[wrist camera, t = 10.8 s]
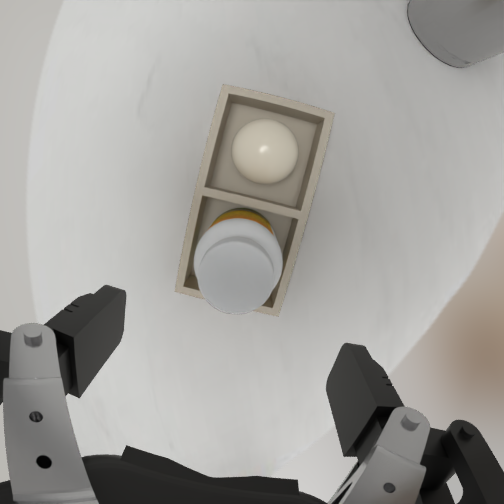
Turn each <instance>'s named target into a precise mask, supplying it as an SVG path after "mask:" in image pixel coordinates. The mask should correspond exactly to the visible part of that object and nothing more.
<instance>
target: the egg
mask: <svg viewBox="0 0 504 504" xmlns="http://www.w3.org/2000/svg"><path fill="white" fill-rule="evenodd" d="M231 157H232V161H233V164H234V166H235V168H236V169H237V171H238V172H239V173H240V174H241V175H242V176H243V177H244V178H246V179H247V180H249V181H251V182H254V183H257V184H273V183H276V182H279V181H281V180H283V179H284V178H286V177H287V176H288V175H289V174H290V173H291V172H292V171H293V169H294V168H295V166H296V164H297V161H298V157H299V146H298V142H297V139H296V137H295V135H294V134H293V132H292V131H291V130H290V129H289V128H288V127H287V126H286V125H285V124H283V123H281V122H279V121H277V120H274V119H269V118H260V119H255V120H252V121H250V122H248V123H246V124H245V125H243V126H242V127H241V128H240V129H239V130H238V131H237V133H236V134H235V136H234V138H233V141H232V145H231Z"/></svg>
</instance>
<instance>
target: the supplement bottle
mask: <svg viewBox="0 0 504 504" xmlns="http://www.w3.org/2000/svg"><path fill="white" fill-rule="evenodd" d="M282 266H283V261H282V253H281V249H280V246H279V243H278V241H277V238H276V235H275V233H274V230H273V228H272V226H271V224H270V223H269V221H268V220H267V219H266V218H265V217H264V216H263V215H262V214H260V213H259V212H257V211H255V210H252V209H248V208H235V209H231V210H228V211H226V212H224V213H222V214H221V215H220V216H218V217H217V218H216V219H215V221H214V222H213V223H212V225H211V226H210V227H209V228H208V230H207V231H206V232H205V233H204V235H203V236H202V237H201V239H200V241H199V243H198V245H197V247H196V251H195V255H194V270H195V274H196V277H197V280H198V286H199V289H200V291H201V294H202V295H203V297H204V298H205V300H206V301H207V302H208V303H209V304H210V305H211V306H213V307H214V308H216V309H218V310H219V311H222V312H225V313H229V314H245V313H248V312H251V311H254V310H255V309H257V308H259V307H260V306H261V305H263V304H264V303H265V302H266V300H267V299H268V298H269V296H270V294H271V292H272V290H273V289H274V288H275V286H276V285H277V283H278V281H279V279H280V276H281V272H282Z"/></svg>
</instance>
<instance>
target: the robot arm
mask: <svg viewBox="0 0 504 504" xmlns="http://www.w3.org/2000/svg"><path fill="white" fill-rule="evenodd" d="M408 17H409V21H410V24H411V26H412V28H413V30H414V32H415V34H416V36H417V37H418V38H419V40H420V41H421V43H422V44H423V45H424V46H425V47H426V48H427V49H428V50H429V51H430V52H431V53H432V54H433V55H434V56H436V57H437V58H438V59H440V60H441V61H443V62H445V63H447V64H449V65H451V66H455V67H467V66H470V65H473V64H475V63H477V62H480V61H482V60H485V59H487V58H490V57H493V56H495V55H498V54H501V53H503V52H504V0H410V3H409V5H408ZM125 305H126V292H125V290H122V289H119V288H115V287H112V286H109V285H104V286H103V287H102V288H101V289H99V290H98V291H97V292H96V293H95V294H91V293H89V294H86V295H83V296H80V297H78V298H77V299H75V300H74V301H73V302H72V303H71V304H69V305H68V306H66V307H65V308H64V310H61V311H60V312H59V313H58V314H56V315H55V316H54V317H53V318H51V319H50V320H49V321H48V322H47V323H45V324H44V325H42V324H38V323H28V324H24V325H20V326H19V327H17V328H16V329H15V330H14V331H13V333H9V332H5V331H1V330H0V405H1V403H2V402H3V412H4V433H5V445H6V454H7V462H8V469H9V476H10V480H9V481H5V482H1V483H0V504H455V503H454V500H453V498H452V495H451V493H450V490H449V488H448V486H447V483H446V482H447V481H448V480H449V479H450V478H451V477H452V476H453V475H454V474H455V473H456V474H457V476H458V478H459V481H460V483H461V485H462V487H463V496H462V498H461V500H460V502H459V503H457V504H504V472H503V470H502V468H501V467H500V465H499V463H498V461H497V460H496V458H495V456H494V455H493V453H492V451H491V450H490V448H489V446H488V444H487V443H486V441H485V440H484V438H483V437H482V435H481V433H480V432H479V430H478V429H477V428H476V427H475V426H474V425H472V424H471V423H469V422H467V421H464V420H455V421H453V422H452V423H451V424H450V426H449V427H448V428H447V430H446V431H443V430H439V429H434V428H430V424H429V421H428V420H427V418H426V417H425V416H424V415H423V414H422V413H420V412H419V411H417V410H415V409H413V408H409V407H405V406H404V405H403V403H402V401H401V399H400V397H399V395H398V394H397V392H396V390H395V388H394V386H392V383H391V381H390V379H388V376H387V374H386V372H385V370H384V369H383V368H382V367H381V366H380V365H379V364H378V363H377V362H376V361H375V360H373V359H372V358H371V356H370V354H369V352H368V350H367V349H366V347H365V346H363V345H356V344H350V343H345V344H343V346H342V347H341V349H340V352H339V354H338V356H337V359H336V361H335V363H334V365H333V367H332V370H331V372H330V374H329V376H328V379H327V384H326V392H327V396H328V399H329V403H330V407H331V410H332V414H333V418H334V422H335V425H336V429H337V433H338V437H339V441H340V444H341V448H342V452H343V456H344V457H346V456H347V457H351V456H352V457H357V458H358V461H357V462H356V464H355V465H354V466H353V467H352V469H351V471H350V472H349V474H348V475H347V477H346V478H345V480H344V481H343V482H342V484H341V485H340V487H339V488H338V489H337V491H336V492H335V494H334V495H333V497H332V498H331V499H330V500H329V502H328V503H326V502H324V501H322V500H321V499H318V498H316V497H314V496H312V495H309V494H306V493H304V492H300V491H299V488H298V480H293V479H281V478H270V477H261V476H249V477H226V478H213V477H208V476H206V475H203V474H201V473H199V472H196V471H194V470H192V469H189V468H187V467H185V466H183V465H181V464H179V463H177V462H174V461H172V460H170V459H168V458H165V457H162V456H158V455H155V454H151V453H148V452H145V451H142V450H139V449H136V448H133V447H130V446H127V445H126V447H125V450H124V452H123V454H122V456H119V455H106V454H105V455H91V456H85V457H81V455H80V451H79V448H78V445H77V441H76V438H75V434H74V431H73V427H72V423H71V419H70V415H69V411H68V406H67V402H66V397H65V396H66V395H67V394H68V393H69V394H71V395H73V396H76V397H78V398H80V397H81V395H82V394H83V393H84V391H85V390H86V388H87V387H88V386H89V384H90V383H91V381H92V380H93V379H94V377H95V376H96V374H97V373H98V372H99V370H100V369H101V368H102V366H103V365H104V363H105V362H106V361H107V359H108V358H109V357H110V355H111V354H112V353H113V351H114V350H115V349H116V347H117V346H118V345H119V343H120V341H121V339H122V335H123V331H124V319H125Z"/></svg>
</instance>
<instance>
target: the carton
mask: <svg viewBox="0 0 504 504" xmlns="http://www.w3.org/2000/svg"><path fill="white" fill-rule="evenodd" d="M334 114H335V113H333V112H330V111H326V110H323V109H320V108H317V107H314V106H310V105H307V104H304V103H300V102H297V101H293V100H289V99H286V98H282V97H278V96H274V95H270V94H266V93H262V92H257V91H253V90H249V89H244V88H239V87H234V86H229V85H224V84H223V85H222V88H221V92H220V95H219V99H218V102H217V106H216V109H215V113H214V117H213V120H212V124H211V128H210V131H209V135H208V139H207V143H206V147H205V151H204V155H203V159H202V163H201V167H200V171H199V175H198V179H197V184H196V188H195V192H194V197H193V201H192V206H191V210H190V215H189V219H188V224H187V229H186V234H185V239H184V244H183V249H182V254H181V259H180V264H179V270H178V275H177V281H176V286H175V292H178V293H182V294H185V295H189V296H193V297H197V298H201V299H205V298H204V297H203V295H202V294H201V291H200V289H199V286H198V280H197V277H196V274H195V270H194V255H195V251H196V247H197V245H198V243H199V241H200V239H201V237H202V236H203V235H204V233H205V232H206V231H207V230H208V228H209V227H210V226H211V225H212V223H213V222H214V221H215V219H216V218H217V217H218V216H220V215H221V214H222V213H224V212H226V211H228V210H231V209H235V208H248V209H252V210H255V211H257V212H259V213H260V214H262V215H263V216H264V217H265V218H266V219H267V220H268V221H269V223H270V224H271V226H272V228H273V230H274V233H275V235H276V238H277V241H278V243H279V246H280V249H281V253H282V261H283V266H282V272H281V276H280V279H279V281H278V283H277V285H276V286H275V288H274V289H273V290H272V292H271V294H270V296H269V298H268V299H267V300H266V302H265V303H264V304H263V305H261V306H260V307H259V308H257V309H255V310H254V311H255V312H259V313H264V314H268V315H273V316H279V313H280V310H281V307H282V303H283V300H284V297H285V294H286V290H287V287H288V284H289V281H290V277H291V274H292V271H293V267H294V264H295V260H296V257H297V254H298V250H299V247H300V243H301V240H302V236H303V233H304V229H305V226H306V222H307V219H308V215H309V211H310V208H311V204H312V200H313V197H314V193H315V189H316V186H317V182H318V178H319V174H320V170H321V167H322V163H323V159H324V155H325V151H326V147H327V143H328V139H329V135H330V131H331V127H332V122H333V118H334ZM260 118H269V119H274V120H277V121H279V122H281V123H283V124H285V125H286V126H287V127H288V128H289V129H290V130H291V131H292V132H293V134H294V135H295V137H296V139H297V142H298V146H299V157H298V161H297V164H296V166H295V168H294V169H293V171H292V172H291V173H290V174H289V175H288V176H287V177H286V178H284V179H283V180H281V181H279V182H276V183H273V184H257V183H254V182H251V181H249V180H247V179H246V178H244V177H243V176H242V175H241V174H240V173H239V172H238V171H237V169H236V168H235V166H234V164H233V161H232V157H231V145H232V141H233V138H234V136H235V134H236V133H237V131H238V130H239V129H240V128H241V127H242V126H243V125H245V124H246V123H248V122H250V121H252V120H255V119H260Z"/></svg>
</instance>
